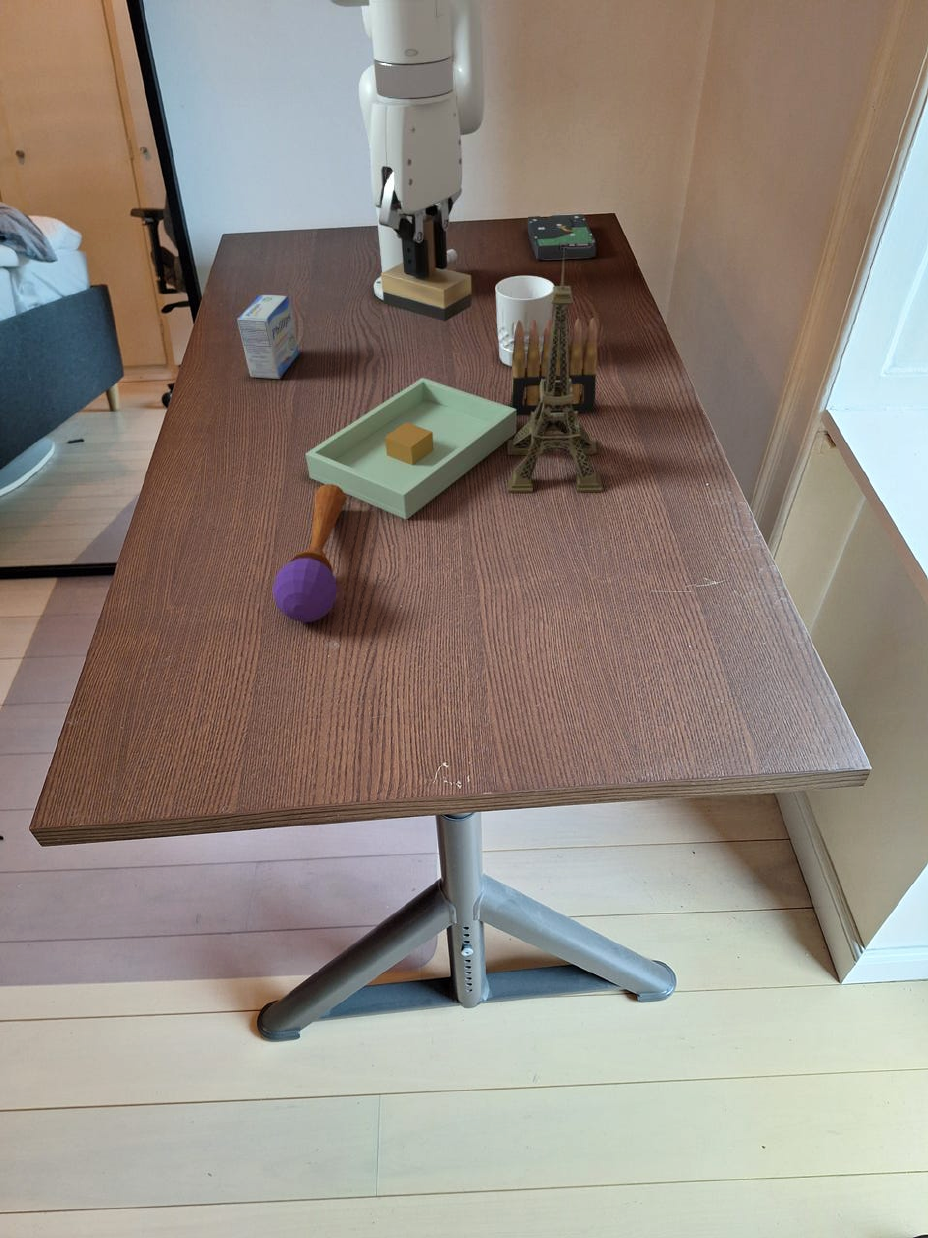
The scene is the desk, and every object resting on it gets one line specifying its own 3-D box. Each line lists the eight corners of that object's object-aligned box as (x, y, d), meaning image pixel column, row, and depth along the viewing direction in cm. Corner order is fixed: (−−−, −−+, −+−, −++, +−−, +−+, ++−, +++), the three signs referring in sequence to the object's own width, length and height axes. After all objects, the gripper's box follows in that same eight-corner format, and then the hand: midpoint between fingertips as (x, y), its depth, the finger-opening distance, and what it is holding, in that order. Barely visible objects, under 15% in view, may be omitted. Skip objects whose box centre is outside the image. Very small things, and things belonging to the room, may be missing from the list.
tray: (423, 400, 112) (422, 377, 109) (516, 432, 105) (516, 408, 103) (309, 477, 99) (305, 453, 97) (406, 519, 93) (404, 494, 91)
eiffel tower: (507, 442, 104) (509, 228, 86) (594, 441, 103) (613, 226, 86) (508, 492, 96) (510, 269, 79) (602, 492, 95) (624, 267, 78)
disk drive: (525, 232, 156) (536, 261, 145) (526, 216, 154) (537, 244, 143) (581, 229, 156) (596, 258, 145) (582, 212, 154) (598, 241, 143)
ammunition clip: (592, 404, 110) (600, 313, 101) (594, 411, 108) (602, 320, 100) (509, 407, 110) (510, 317, 101) (511, 415, 108) (511, 324, 100)
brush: (410, 289, 101) (404, 204, 95) (471, 306, 97) (469, 218, 90) (383, 303, 98) (375, 217, 92) (445, 321, 94) (441, 232, 88)
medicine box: (279, 380, 117) (267, 319, 111) (249, 378, 118) (236, 317, 112) (299, 354, 122) (289, 294, 116) (270, 352, 123) (259, 293, 117)
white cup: (559, 350, 121) (563, 280, 114) (539, 375, 116) (542, 302, 109) (508, 341, 123) (509, 271, 117) (486, 364, 118) (485, 293, 111)
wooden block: (407, 440, 103) (406, 421, 101) (433, 450, 101) (432, 431, 100) (386, 455, 101) (384, 436, 99) (412, 465, 99) (411, 447, 97)
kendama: (360, 477, 92) (334, 588, 76) (355, 523, 96) (330, 638, 80) (304, 469, 91) (267, 579, 76) (302, 515, 95) (266, 630, 79)
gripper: (435, 60, 89) (443, 242, 101) (329, 91, 79) (352, 288, 92) (494, 67, 85) (494, 255, 98) (390, 100, 76) (405, 303, 89)
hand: (425, 269), depth 95 cm, fingers closed on brush, 2 cm apart
